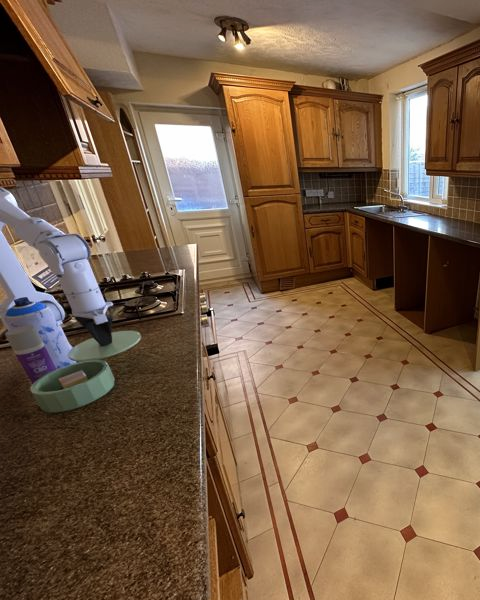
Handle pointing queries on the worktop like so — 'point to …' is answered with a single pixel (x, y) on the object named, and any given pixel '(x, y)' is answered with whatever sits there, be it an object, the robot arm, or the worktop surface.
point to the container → (30, 352)
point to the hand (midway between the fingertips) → (104, 342)
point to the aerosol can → (40, 327)
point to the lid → (96, 351)
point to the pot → (77, 394)
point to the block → (73, 379)
